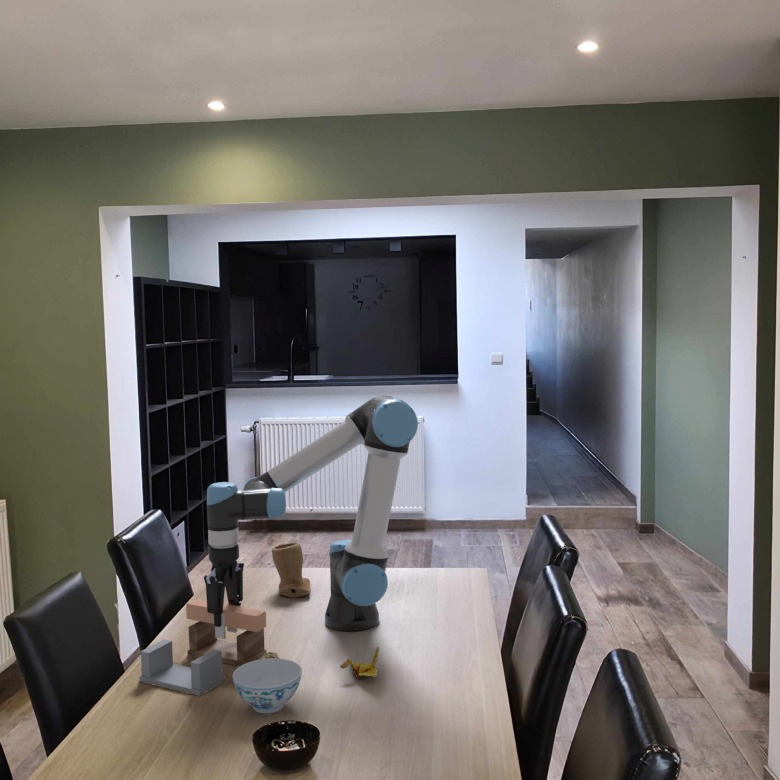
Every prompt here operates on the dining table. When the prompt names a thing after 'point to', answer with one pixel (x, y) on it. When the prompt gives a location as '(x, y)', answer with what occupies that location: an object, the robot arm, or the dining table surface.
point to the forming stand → (180, 669)
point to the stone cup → (290, 569)
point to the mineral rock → (268, 656)
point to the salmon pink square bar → (228, 615)
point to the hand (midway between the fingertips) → (226, 634)
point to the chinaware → (267, 683)
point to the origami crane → (363, 666)
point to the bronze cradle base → (225, 644)
